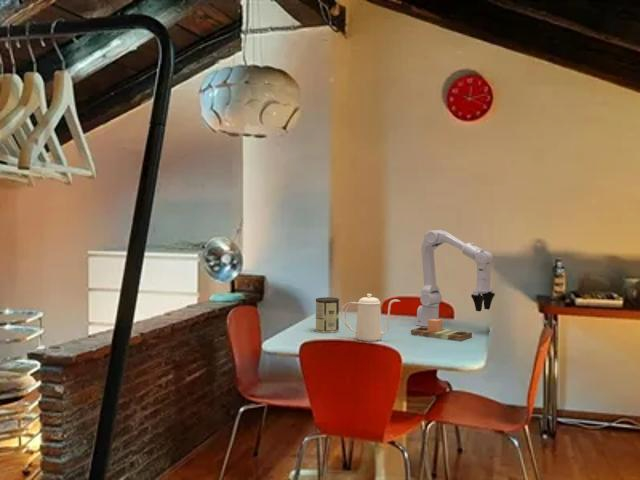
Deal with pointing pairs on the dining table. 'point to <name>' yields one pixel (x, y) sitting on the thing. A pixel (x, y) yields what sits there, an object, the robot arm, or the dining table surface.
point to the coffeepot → (369, 319)
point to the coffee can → (327, 315)
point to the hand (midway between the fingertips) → (482, 310)
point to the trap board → (442, 334)
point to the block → (434, 325)
